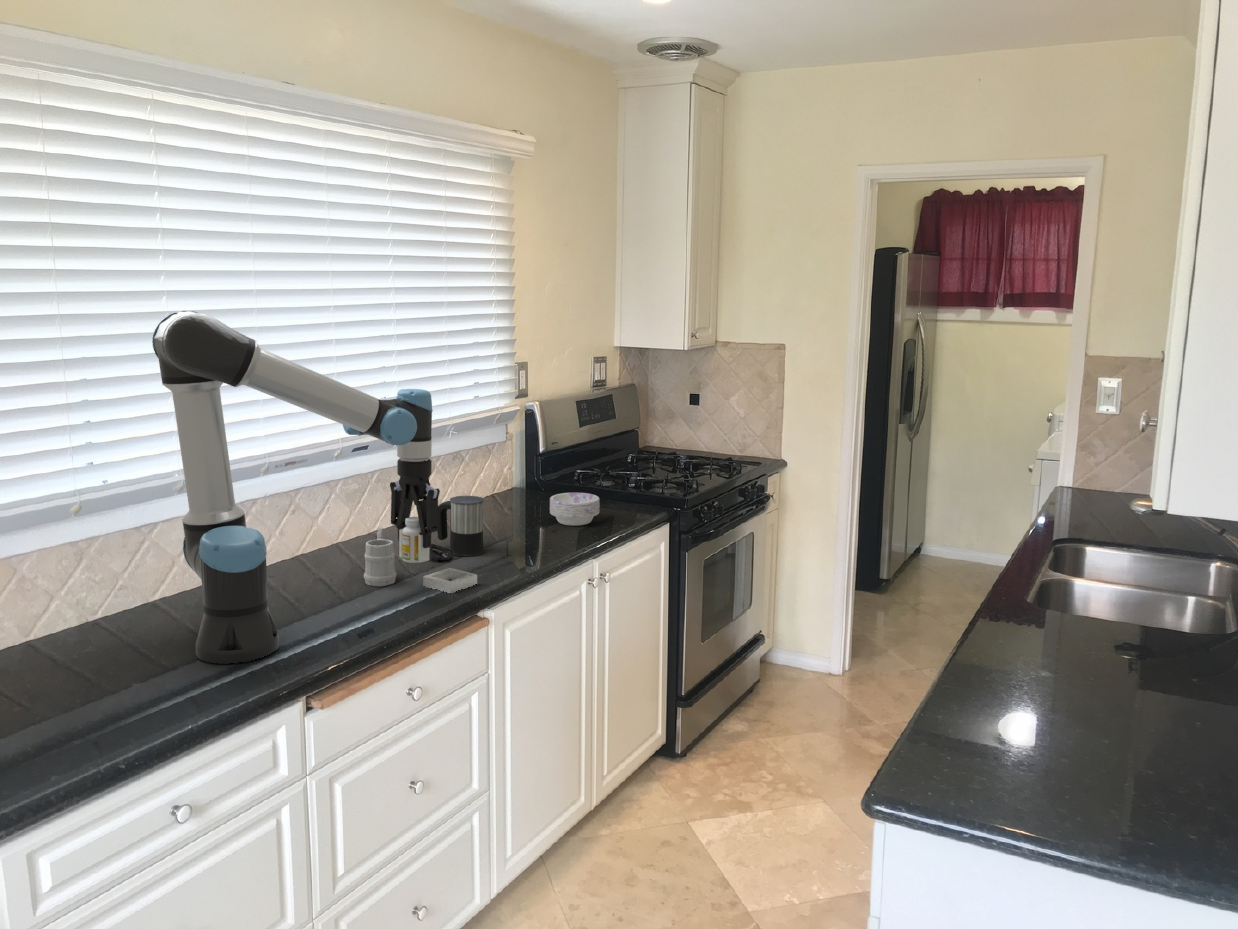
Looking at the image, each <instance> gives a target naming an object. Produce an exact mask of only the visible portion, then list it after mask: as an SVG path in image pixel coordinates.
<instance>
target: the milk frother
mask: <svg viewBox="0 0 1238 929" xmlns="http://www.w3.org/2000/svg"><path fill="white" fill-rule="evenodd" d="M485 501H486V500H485V498H484V497H481V496H476V495H456V496H452V497H451V498H449V500H447V501H443V502H441V503H439V504H438V526H439V529H438V531H436V533H437V539H438V540H440V541H445V540H446V539H448V536H449V535H448V534H450V538H449V539H450V540H449V543H450V545H449V546H450V547H449V549H448V548H447V547H443V546H440V545H438V544H434V543H431V547H429V557H431V558H433V559H436V562H437V561H448V560H451V558H452V555H453V556H458V557H475V556H480V555H482V554H484V552H485V549H484V502H485ZM448 510H450V524H449V526H450V533H449V532H448V513H447V512H448Z"/></svg>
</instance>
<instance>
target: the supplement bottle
mask: <svg viewBox="0 0 1238 929" xmlns="http://www.w3.org/2000/svg"><path fill="white" fill-rule="evenodd" d="M405 524H406V527H405V528H404V529H403V530H402V558H401V559H402V561H403V562H404V563H410V564H411V563H412V564H415V563H416V564H417V563H419V562H418V534H419V533H420V532H421V529H420V523H419V518H418V516H410V517H408V518H406V519H405Z"/></svg>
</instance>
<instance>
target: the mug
mask: <svg viewBox="0 0 1238 929" xmlns="http://www.w3.org/2000/svg"><path fill="white" fill-rule="evenodd" d="M376 529H377V530H376V531H377V534H376V536H377V538H376V539H371V540H368V541H366V542H365V553H364V559H365V565H364V566H365V567H364V568H365V570H364V573H363V578H364V581H365V582H364V583H365V584H366V585H367V586H372V587H386V586H389V585H393V584H395V583H396V578H397V571H396V569H395V568H396V567H395V557H396V553H395V552H394V551H395V550H394V541H393V540H391V539H386V538H384V536H383V527H382V526H381V527H377V528H376Z"/></svg>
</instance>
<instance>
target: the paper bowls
mask: <svg viewBox="0 0 1238 929" xmlns="http://www.w3.org/2000/svg"><path fill="white" fill-rule="evenodd" d="M600 508H601V507H600V497H599V496H598V495H596V494H592V493H588V492H562V493H556V494H554V495H552V496H550V497H549V514H550V515H551V516H554V517H555V519H556V520H557V522H558V523H559V524H562V525H564V526H575V527H576V526H579V527H580V526H584V525H588V524H590V523H591V522H592V521H593V519H594V517H595V516H598V515H599V514H600Z"/></svg>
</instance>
